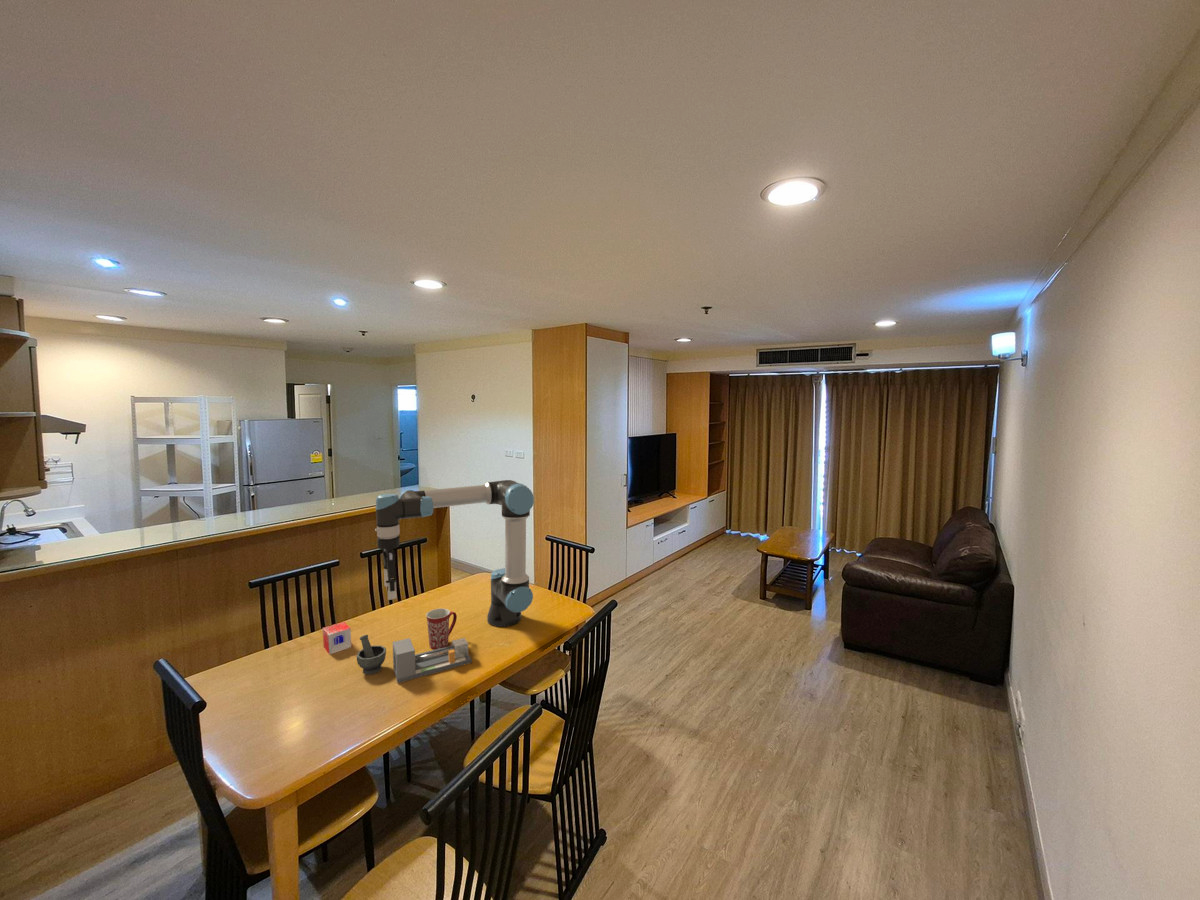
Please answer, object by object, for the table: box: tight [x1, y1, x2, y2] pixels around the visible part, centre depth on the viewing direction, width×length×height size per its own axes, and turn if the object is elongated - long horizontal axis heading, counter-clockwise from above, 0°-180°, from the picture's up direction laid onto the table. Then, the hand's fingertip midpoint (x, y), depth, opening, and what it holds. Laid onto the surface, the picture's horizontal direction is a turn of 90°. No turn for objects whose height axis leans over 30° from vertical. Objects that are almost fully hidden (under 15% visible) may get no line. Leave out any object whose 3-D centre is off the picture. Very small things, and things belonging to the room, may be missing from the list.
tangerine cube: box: [448, 649, 455, 663], centre depth 175 cm, size 2×2×4 cm
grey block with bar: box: [415, 637, 469, 662], centre depth 176 cm, size 20×7×5 cm, turn 121°
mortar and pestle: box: [356, 634, 387, 676], centre depth 172 cm, size 11×9×12 cm
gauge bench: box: [392, 637, 472, 684], centre depth 175 cm, size 26×10×10 cm, turn 121°
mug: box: [425, 608, 457, 650], centre depth 191 cm, size 13×9×14 cm
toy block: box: [322, 621, 352, 655], centre depth 188 cm, size 8×8×8 cm
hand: (390, 592), depth 174 cm, fingers open, 13 cm apart
